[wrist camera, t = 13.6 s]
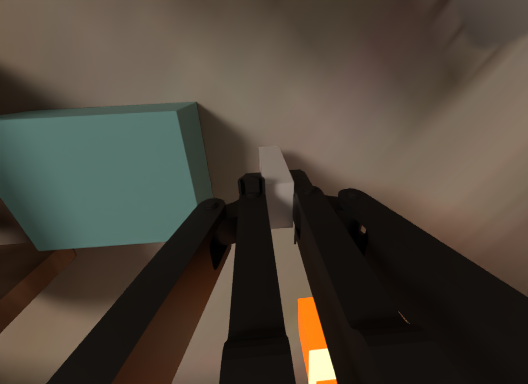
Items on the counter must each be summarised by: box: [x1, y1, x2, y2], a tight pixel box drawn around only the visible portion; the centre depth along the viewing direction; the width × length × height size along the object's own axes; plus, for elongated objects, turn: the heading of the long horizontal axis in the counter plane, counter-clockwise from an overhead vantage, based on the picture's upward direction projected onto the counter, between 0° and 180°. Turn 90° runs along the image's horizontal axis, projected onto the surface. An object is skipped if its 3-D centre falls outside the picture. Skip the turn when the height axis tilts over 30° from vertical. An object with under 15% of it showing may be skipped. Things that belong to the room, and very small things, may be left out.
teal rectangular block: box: [0, 102, 213, 251], centre depth 16 cm, size 12×9×5 cm
